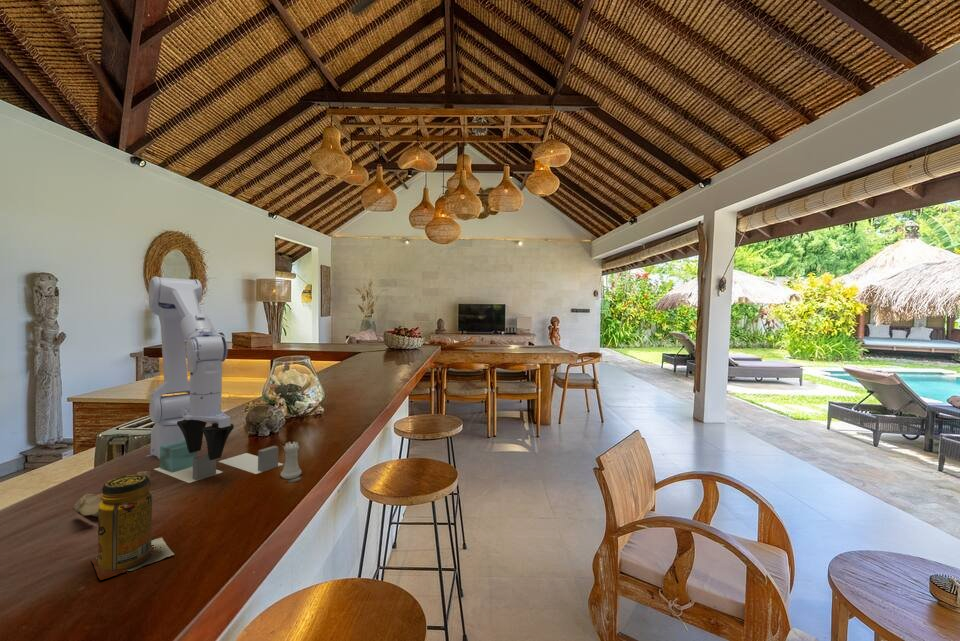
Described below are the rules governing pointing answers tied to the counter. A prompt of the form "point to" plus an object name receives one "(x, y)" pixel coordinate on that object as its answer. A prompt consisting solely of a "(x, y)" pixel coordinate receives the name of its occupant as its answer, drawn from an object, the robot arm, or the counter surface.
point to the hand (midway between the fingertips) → (204, 455)
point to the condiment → (127, 525)
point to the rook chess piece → (291, 463)
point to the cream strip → (195, 470)
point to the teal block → (176, 456)
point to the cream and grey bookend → (255, 460)
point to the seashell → (95, 501)
